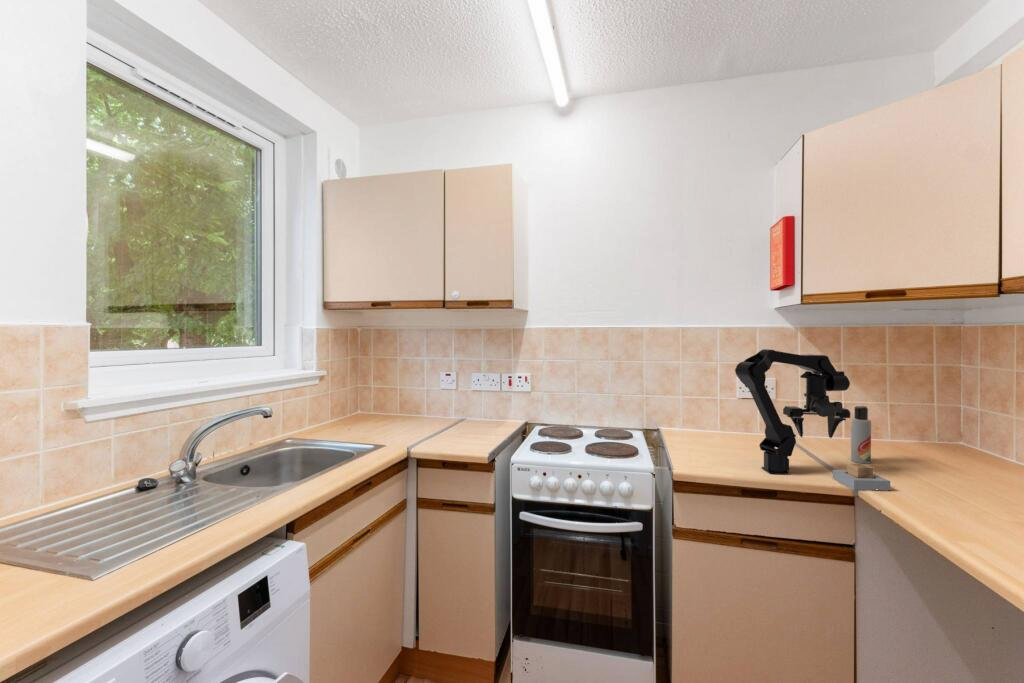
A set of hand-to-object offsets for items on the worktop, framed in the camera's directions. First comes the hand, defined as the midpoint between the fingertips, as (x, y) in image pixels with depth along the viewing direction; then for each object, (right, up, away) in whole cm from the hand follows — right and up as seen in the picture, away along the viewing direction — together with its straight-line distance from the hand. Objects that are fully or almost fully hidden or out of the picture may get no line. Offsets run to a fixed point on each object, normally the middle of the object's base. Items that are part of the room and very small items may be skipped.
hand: (815, 437), depth 152 cm
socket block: (+3, -11, -16) cm, 20 cm away
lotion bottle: (+22, -11, +9) cm, 26 cm away
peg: (+3, -11, -16) cm, 19 cm away
